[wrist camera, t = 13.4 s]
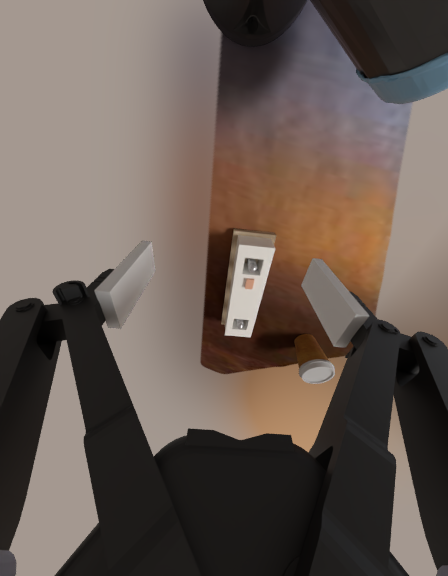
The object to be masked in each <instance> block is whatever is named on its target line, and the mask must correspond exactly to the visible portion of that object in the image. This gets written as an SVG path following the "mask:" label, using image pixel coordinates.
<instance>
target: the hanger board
mask: <svg viewBox="0 0 448 576" xmlns="http://www.w3.org/2000/svg"><path fill="white" fill-rule="evenodd" d="M238 235H242V236H252V237H261V238H270V239H271V240H272V242H273V244H274V242H275V238H276V234H275V233H271V232H262V231H253V230H244V229H234V230H233V238H232V245H231V253H230V260H229V268H228V275H227V283H226V290H225V298H224V306H223V313H222V321H221V324H225V320H226V313H227V306H228V300H229V293H230V286H231V279H232V273H233V266H234V259H235V252H236V246H237V239H238ZM255 261H256V264H257V263H258V259H255ZM244 263H247V258H245V261H244Z"/></svg>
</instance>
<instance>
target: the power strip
mask: <svg viewBox="0 0 448 576" xmlns="http://www.w3.org/2000/svg"><path fill="white" fill-rule="evenodd" d="M274 251H275V247H274V244H273V242H272V240H271V239H270V238H261V237H252V236H242V235H238V239H237V246H236V252H235V259H234V266H233V273H232V279H231V286H230V293H229V300H228V306H227V313H226V320H225V335H230V336H242V337H251V334H252V330H253V327H254V323H255V320H256V316H257V312H258V309H259V305H260V302H261V298H262V295H263V291H264V287H265V284H266V280H267V277H268V273H269V269H270V266H271V262H272V259H273V255H274ZM245 258H253V259H258V263H257V264H256V265H257V270H256V271H255V272H250V271H249V270H248V264H247V263H244V261H245ZM236 319H243V323H244V327H243V328H242V329H238V328H237V322H236Z"/></svg>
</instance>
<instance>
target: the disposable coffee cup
mask: <svg viewBox="0 0 448 576" xmlns="http://www.w3.org/2000/svg"><path fill="white" fill-rule="evenodd" d="M294 343H295V348H296V354H297V359H298V365H299V375H300V377H301V378H302V379H303V380H304V381H305V382H307V383H311V384H318V383H323V382H326V381H328V380H330V379H332V377H334V375H335V372H334V369H335V368H334V365H333V364H332V363H331V362H329V360H328V359H327V357H326V355H325V354H324V352H323V351H322V349H321V348H320V346H319V344H318V343H317V341H316V340H315V338H314V337H313V336H312V335H310V334H302V335H300V336H298V337H297V338H296V339H295V340H294Z"/></svg>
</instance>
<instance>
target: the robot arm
mask: <svg viewBox="0 0 448 576" xmlns="http://www.w3.org/2000/svg"><path fill="white" fill-rule="evenodd" d="M203 1H204V4H205V6H206V8H207V11H208V13H209V14H210V16H211V18H212V20H213V21H214V23H215V24H216V25H217V27H218V28H219V29H220V30H221V32H222V33H223V34H224V35H226V36H227V37H228V38H229V39H231V40H232V41H234V42H236V43H238V44H241V45H244V46H261V45H264V44H267V43H269V42H271V41H273V40H275V39H276V38H278V37H279V36H280V35H282V34H283V33H284V32H285V31H286V30H287V29H288V28H289V27H290V26H291V24H292V23H293V22H294V21H295V19H296V18H297V17H298V15H299V14H300V12H301V11H302V9H303V7H304V5H305V4H306V2H307V0H203ZM310 1H311V2H312V4H313V5H314V7H315V8H316V10H317V11H318V13H319V14H320V15H321V17H322V18H323V20H324V21H325V23H326V24H327V26H328V27H329V29H330V30H331V32H332V33H333V35H334V36H335V37H336V39H337V40H338V42H339V43H340V45H341V46H342V48H343V49H344V51H345V52H346V54H347V55H348V57H349V58H350V59H351V61H352V62H353V64H354V65H355V67H356V68H357V69H356V73H357V75H358V77H359V78H360V79H361V80H362V81H365V82H367V83H368V84H369V85H370V86H371V88H372V89H373V90H374V92H375V93H376V94H377V95H378V97H379V98H380V99H381V100H383V101H385V102H387V103H394V104H395V103H397V104H405V103H410V102H414V101H418V100H421V99H424V98H427V97H429V96H432V95H434V94H437V93H439V92H441V91H443V90H445V89H447V88H448V0H310ZM154 273H155V264H154V256H153V248H152V242H150V241H141V243H139V244H138V245H137V246H136V247H135V249H134V250H133V251H132V252H131V253H130V254H129V255H128V256H127V257H126V258H125V259H124V260H123V261H122V262H121V263H120V264H119V266H117V267H116V269H108V270H107V271H105V272H102V273H101V274H100V275H99V276H98V278H96V279H95V280H94V282H92V283H91V284H90V285H89V286H88V287H87V288H86V286H85V284H84V283H83V282H81V281H67V282H64V283H61V284H60V285H58V286H56V287H55V288H54V289H53V294H54V296H55V298H56V299H57V301H58V303H59V304H50V305H44V304H43V302H42V301H41V300H40V299H37V298H28V299H24V300H20V301H18V302H15V303H14V304H12V305H10V306H9V307H8V308H7V310H6V311H5V313H4V314H3V316H2V318H1V319H0V576H15V574H16V560H15V557H14V554H12V553H11V552H10V551H9V548H10V546H11V543H12V540H13V538H14V535H15V532H16V529H17V527H18V524H19V521H20V517H21V513H22V510H23V506H24V502H25V499H26V495H27V490H28V486H29V482H30V477H31V473H32V469H33V464H34V460H35V455H36V451H37V446H38V442H39V438H40V434H41V429H42V425H43V420H44V416H45V412H46V407H47V403H48V398H49V394H50V390H51V385H52V381H53V376H54V372H55V368H56V363H57V359H58V355H59V350H60V346H61V341H62V340H67V343H68V348H69V352H70V357H71V362H72V367H73V372H74V376H75V381H76V386H77V390H78V395H79V399H80V405H81V409H82V414H83V419H84V423H85V429H86V434H85V436H84V447H85V453H86V458H87V463H88V468H89V473H90V478H91V483H92V489H93V494H94V499H95V504H96V509H97V514H98V519H99V523H98V524H97V526H96V527H95V528H94V529H93V530H92V531H91V533H90V534H89V535H88V536H87V537H86V539H85V540H84V541H83V542H82V543H81V545H80V546H79V547H78V548H77V549H76V551H75V552H74V553H73V554H72V555H71V557H70V558H69V559H68V560H67V561H66V563H65V564H64V565H63V566H62V567H61V569H60V570H59V571H58V572H57V573H56V575H55V576H409V575H408V574H407V572H406V571H405V570H404V569H403V567H402V566H401V565H400V563H399V562H398V561H397V560H396V558H395V557H394V556H393V555H392V553H391V552H390V538H391V526H392V514H393V501H394V487H395V474H396V459H395V457H394V455H393V454H391V453H390V452H389V451H388V448H387V446H388V437H389V429H390V420H391V411H392V402H393V394H394V398H395V402H396V407H397V411H398V416H399V421H400V425H401V430H402V435H403V439H404V444H405V448H406V452H407V457H408V462H409V467H410V471H411V476H412V480H413V485H414V489H415V494H416V498H417V503H418V507H419V512H420V517H421V520H422V524H423V528H424V531H425V536H426V539H427V542H428V545H429V548H430V551H431V554H432V557H433V560H434V563H435V565H436V568H437V570H438V571H437V575H436V576H448V349H447V347H446V346H445V345H444V343H443V342H441V341H440V340H439V339H438V338H436V337H435V336H433V335H430V334H428V333H424V332H417V333H416V334H414V335H413V336H412V337H410V336H407V335H404V334H400V332H399V330H398V329H397V328H396V327H394V326H393V325H392V324H390V323H388V322H386V321H383V320H378V319H377V318H376V317H375V316H374V315H373V313H372V312H371V311H370V310H369V309H368V308H367V307H366V305H365V304H364V303H362V301H361V300H360V299H359V297H358V296H356V295H355V294H354V293H352V292H350V291H348V290H347V289H346V287H345V286H344V285H343V284H342V283H341V281H340V280H339V279H338V278H337V277H336V276H335V274H334V273H333V272H332V271H331V270H330V268H329V267H328V266H327V265H326V264H325V263H324V261H323V260H322V259H314V258H313V259H312V261H311V264H310V266H309V268H308V271H307V273H306V276H305V278H304V280H303V283H302V285H301V286H302V288H303V290H304V291H305V293H306V295H307V297H308V299H309V301H310V303H311V305H312V306H313V308H314V310H315V312H316V314H317V316H318V318H319V320H320V321H321V323H322V325H323V327H324V329H325V331H326V333H327V335H328V336H329V338H330V340H331V342H332V344H333V346H335V347H346V346H347V345H348V344H349V342H350V341H351V342H352V344H353V345H354V346H353V348H352V349H351V350H350V352H349V353H348V354H347V355H346V357H345V358H348V359H347V361H346V364H345V366H344V369H343V372H342V374H341V376H340V379H339V382H338V384H337V387H336V389H335V392H334V395H333V397H332V400H331V402H330V405H329V407H328V410H327V413H326V415H325V418H324V420H323V423H322V426H321V428H320V430H319V433H318V436H317V438H316V441H315V443H314V445H313V446H312V448H311V449H310V451H309V453H308V452H307V451H305V450H304V449H302V448H301V447H299V446H297V445H295V444H293V443H292V438H291V435H282V434H263V435H260V436H256V437H252V438H248V439H245V440H237V439H235V438H232V437H230V436H227V435H225V434H222V433H219V432H217V431H214V430H202V429H188V433H187V436H183V437H180V438H178V439H176V440H174V441H172V442H170V443H169V444H167V445H166V446H165V447H163V448H162V449H161V450H160V451H159V452H158V453H157V454H156V455H155V456H154V457H153V454H152V452H151V449H150V446H149V444H148V442H147V439H146V436H145V434H144V431H143V429H142V426H141V424H140V422H139V419H138V416H137V414H136V411H135V409H134V406H133V404H132V401H131V399H130V396H129V394H128V391H127V389H126V386H125V384H124V381H123V379H122V376H121V374H120V371H119V369H118V366H117V364H116V361H115V359H114V356H113V353H112V351H111V348H110V346H109V343H108V341H107V338H106V336H105V333H104V331H103V328H102V325H103V323H104V322H105V321H106V323H107V326H108V328H122V326H123V324H124V323H125V321H126V319H127V318H128V316H129V314H130V313H131V311H132V309H133V308H134V306H135V304H136V303H137V301H138V299H139V298H140V296H141V295H142V293H143V291H144V290H145V288H146V286H147V285H148V283H149V281H150V280H151V278H152V276H153V275H154Z"/></svg>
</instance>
